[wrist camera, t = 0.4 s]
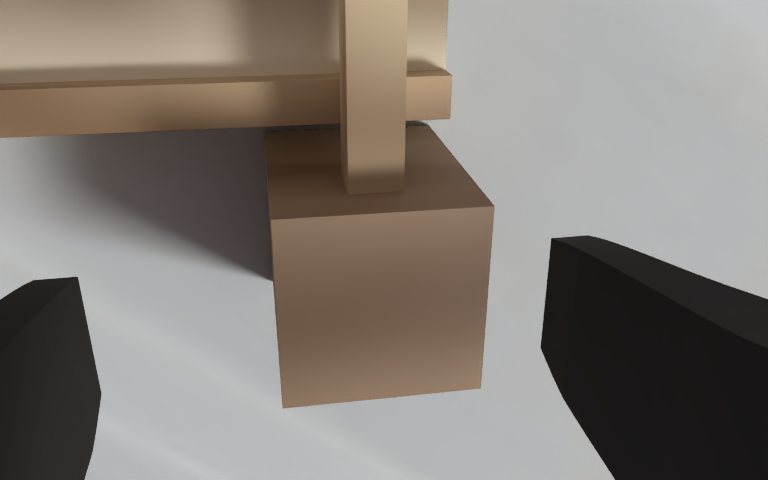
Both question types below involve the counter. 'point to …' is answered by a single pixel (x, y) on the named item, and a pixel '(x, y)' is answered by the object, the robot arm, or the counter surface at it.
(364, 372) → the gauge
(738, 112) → the counter surface
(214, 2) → the board
